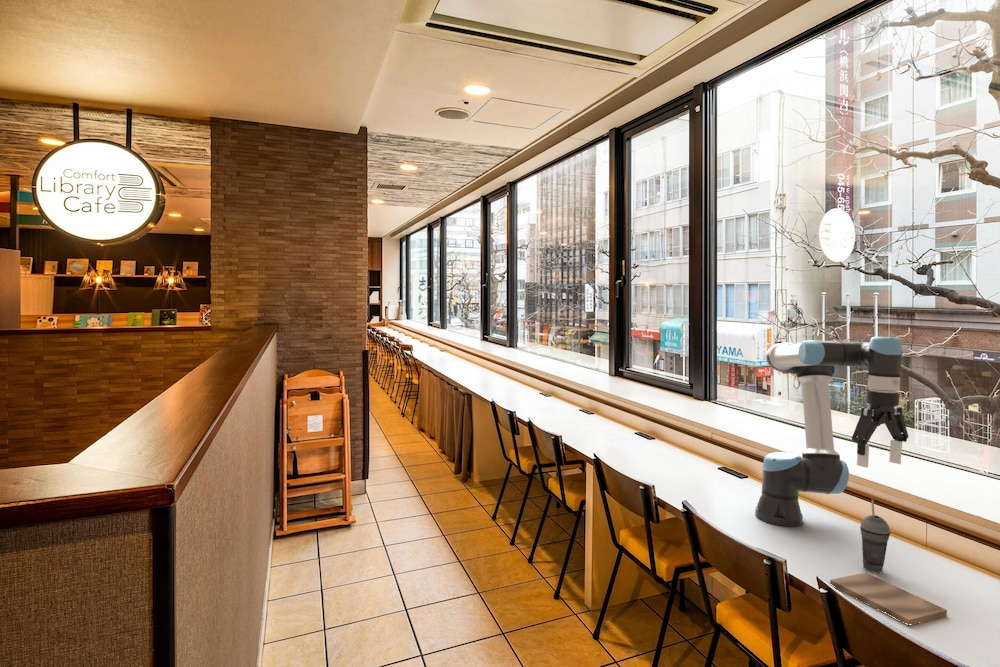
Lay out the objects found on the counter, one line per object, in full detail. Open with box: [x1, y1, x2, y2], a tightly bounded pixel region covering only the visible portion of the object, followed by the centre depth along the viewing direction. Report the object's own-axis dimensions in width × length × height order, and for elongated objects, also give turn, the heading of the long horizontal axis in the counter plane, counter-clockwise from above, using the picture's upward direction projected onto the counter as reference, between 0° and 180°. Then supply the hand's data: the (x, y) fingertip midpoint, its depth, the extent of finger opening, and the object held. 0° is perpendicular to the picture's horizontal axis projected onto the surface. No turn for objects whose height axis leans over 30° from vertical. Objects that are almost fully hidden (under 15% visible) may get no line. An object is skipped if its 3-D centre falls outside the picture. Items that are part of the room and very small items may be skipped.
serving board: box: [829, 572, 948, 625], centre depth 139 cm, size 20×14×2 cm
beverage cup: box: [859, 499, 891, 574], centre depth 156 cm, size 7×7×20 cm
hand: (878, 464), depth 155 cm, fingers open, 13 cm apart
